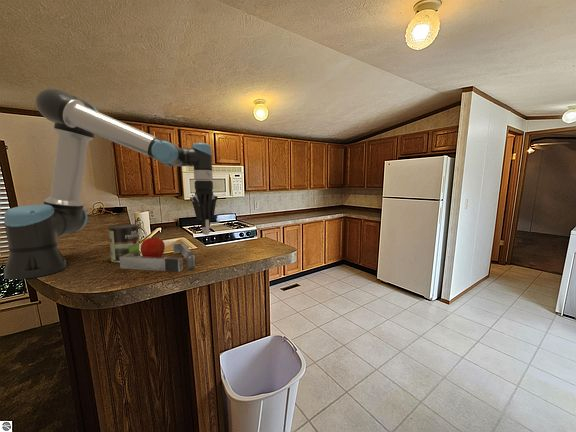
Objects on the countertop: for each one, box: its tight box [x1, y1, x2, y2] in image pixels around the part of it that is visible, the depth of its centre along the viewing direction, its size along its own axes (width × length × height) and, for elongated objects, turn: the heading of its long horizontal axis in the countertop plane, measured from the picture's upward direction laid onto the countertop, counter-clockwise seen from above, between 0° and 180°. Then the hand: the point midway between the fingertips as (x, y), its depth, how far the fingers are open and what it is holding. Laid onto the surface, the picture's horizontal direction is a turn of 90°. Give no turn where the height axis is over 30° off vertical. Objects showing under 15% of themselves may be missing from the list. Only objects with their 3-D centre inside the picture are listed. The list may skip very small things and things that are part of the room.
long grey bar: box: [119, 254, 195, 273], centre depth 89 cm, size 27×5×5 cm, turn 84°
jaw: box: [172, 242, 196, 266], centre depth 101 cm, size 23×4×4 cm, turn 34°
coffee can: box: [107, 223, 141, 264], centre depth 99 cm, size 10×10×14 cm
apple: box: [139, 237, 166, 257], centre depth 94 cm, size 9×8×11 cm
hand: (206, 234), depth 105 cm, fingers closed
